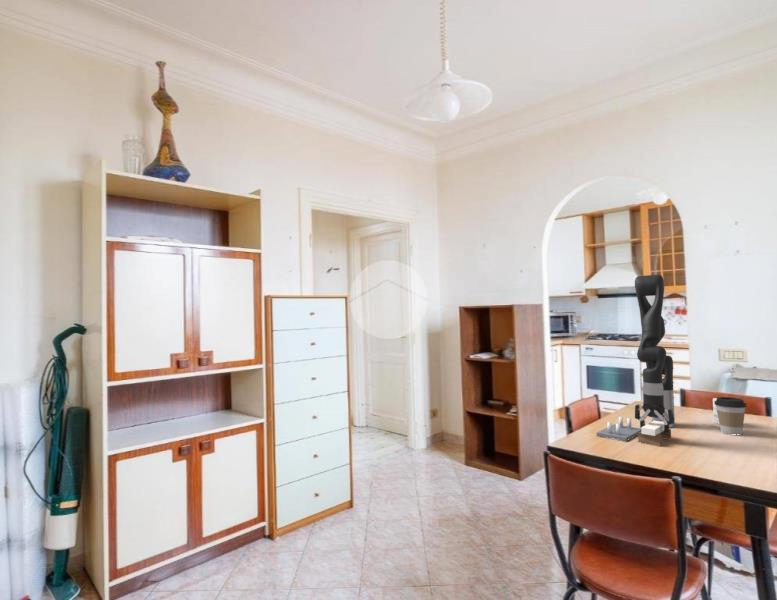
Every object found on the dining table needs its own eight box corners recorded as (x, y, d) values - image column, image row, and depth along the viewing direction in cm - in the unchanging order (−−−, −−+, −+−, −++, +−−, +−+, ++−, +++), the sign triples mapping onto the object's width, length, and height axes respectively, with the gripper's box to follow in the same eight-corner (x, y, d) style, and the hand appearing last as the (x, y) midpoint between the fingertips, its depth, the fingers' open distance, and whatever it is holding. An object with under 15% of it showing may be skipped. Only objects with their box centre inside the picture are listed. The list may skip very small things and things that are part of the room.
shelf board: (654, 426, 192) (654, 420, 192) (667, 428, 188) (667, 422, 188) (641, 433, 181) (641, 427, 181) (655, 435, 177) (654, 429, 177)
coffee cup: (736, 429, 197) (734, 396, 198) (754, 436, 186) (753, 401, 187) (709, 429, 199) (708, 396, 199) (726, 436, 187) (724, 401, 188)
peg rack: (614, 427, 206) (614, 414, 206) (642, 432, 197) (641, 418, 197) (596, 436, 192) (596, 422, 193) (625, 441, 184) (625, 427, 184)
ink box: (737, 427, 202) (736, 401, 202) (726, 427, 202) (725, 401, 202) (723, 422, 210) (722, 397, 211) (713, 422, 210) (711, 398, 211)
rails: (650, 434, 192) (650, 425, 192) (671, 438, 186) (670, 429, 187) (638, 442, 182) (638, 432, 182) (660, 446, 176) (659, 436, 176)
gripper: (675, 393, 182) (676, 433, 182) (637, 389, 193) (639, 426, 192) (669, 396, 177) (671, 436, 177) (631, 392, 188) (633, 430, 187)
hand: (654, 431), depth 184 cm, fingers open, 8 cm apart
